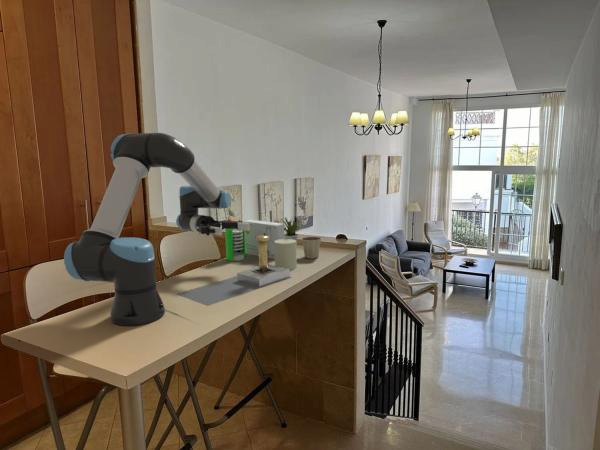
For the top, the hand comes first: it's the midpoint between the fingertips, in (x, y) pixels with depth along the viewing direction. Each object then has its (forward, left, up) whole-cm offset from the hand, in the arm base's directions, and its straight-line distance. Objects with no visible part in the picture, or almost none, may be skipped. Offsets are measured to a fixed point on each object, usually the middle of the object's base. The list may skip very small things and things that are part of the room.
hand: (235, 229), depth 168 cm
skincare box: (+30, +16, -19) cm, 38 cm away
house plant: (+50, +20, -19) cm, 57 cm away
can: (+20, -7, -19) cm, 28 cm away
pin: (+3, -12, -18) cm, 22 cm away
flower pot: (+41, -3, -19) cm, 45 cm away
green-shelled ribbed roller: (+18, +23, -19) cm, 34 cm away
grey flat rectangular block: (+3, -12, -18) cm, 22 cm away
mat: (-9, -10, -19) cm, 23 cm away
